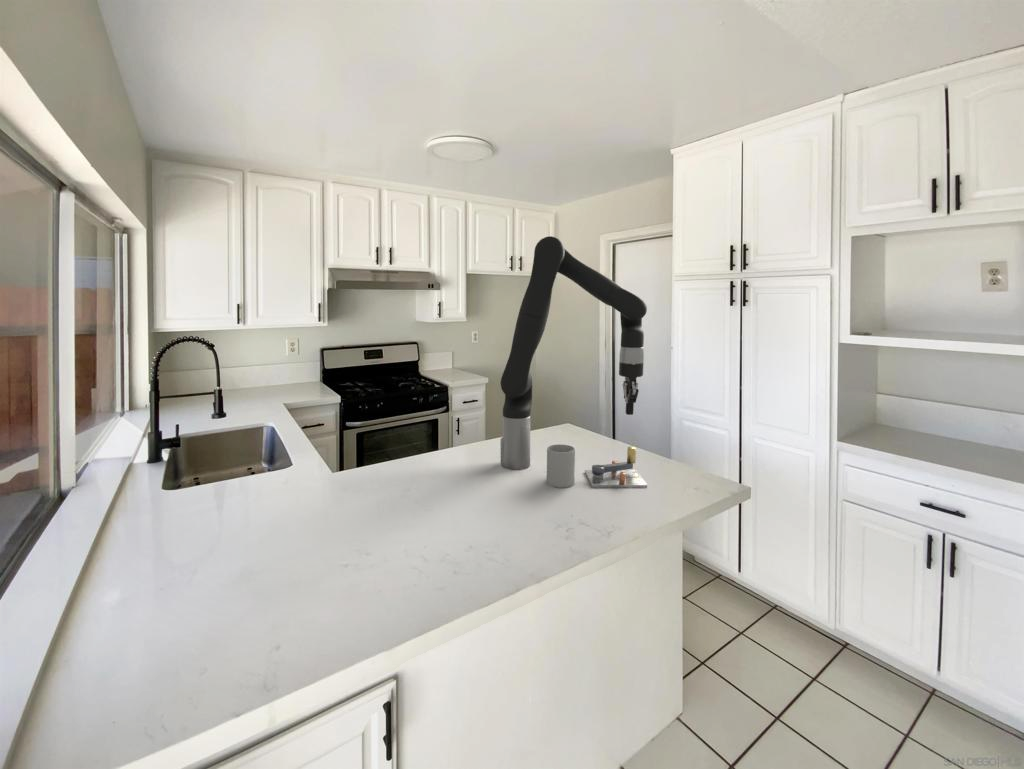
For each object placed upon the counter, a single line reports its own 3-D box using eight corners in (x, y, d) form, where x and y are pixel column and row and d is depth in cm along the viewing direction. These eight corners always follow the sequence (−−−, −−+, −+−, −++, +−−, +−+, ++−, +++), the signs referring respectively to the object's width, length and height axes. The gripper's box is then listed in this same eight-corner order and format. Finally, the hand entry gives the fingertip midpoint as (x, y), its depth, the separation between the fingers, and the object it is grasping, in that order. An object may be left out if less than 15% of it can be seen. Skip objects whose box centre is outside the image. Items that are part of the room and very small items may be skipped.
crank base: (591, 487, 144) (592, 474, 144) (584, 472, 157) (585, 460, 157) (647, 487, 145) (647, 474, 144) (635, 472, 158) (636, 460, 157)
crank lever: (595, 475, 148) (596, 454, 147) (589, 471, 152) (590, 450, 150) (637, 469, 153) (638, 448, 152) (630, 465, 157) (631, 445, 156)
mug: (576, 488, 144) (577, 452, 142) (547, 488, 144) (548, 452, 142) (570, 473, 156) (571, 440, 154) (544, 474, 156) (544, 441, 154)
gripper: (615, 358, 161) (614, 409, 164) (623, 363, 148) (621, 419, 151) (638, 358, 161) (636, 409, 164) (648, 363, 148) (645, 419, 151)
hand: (629, 414), depth 157 cm, fingers closed
